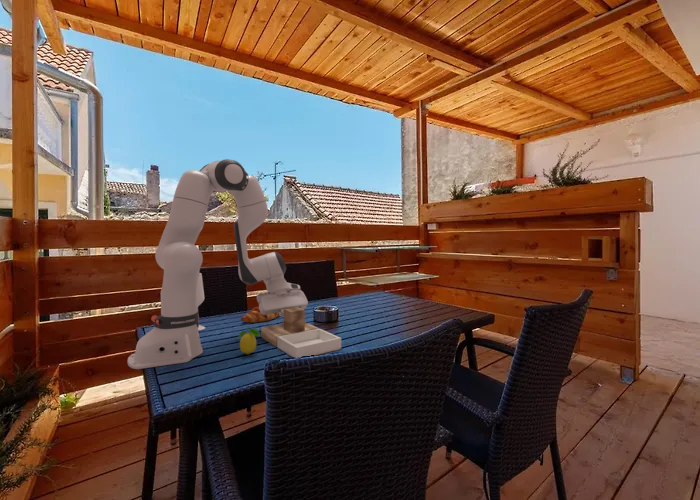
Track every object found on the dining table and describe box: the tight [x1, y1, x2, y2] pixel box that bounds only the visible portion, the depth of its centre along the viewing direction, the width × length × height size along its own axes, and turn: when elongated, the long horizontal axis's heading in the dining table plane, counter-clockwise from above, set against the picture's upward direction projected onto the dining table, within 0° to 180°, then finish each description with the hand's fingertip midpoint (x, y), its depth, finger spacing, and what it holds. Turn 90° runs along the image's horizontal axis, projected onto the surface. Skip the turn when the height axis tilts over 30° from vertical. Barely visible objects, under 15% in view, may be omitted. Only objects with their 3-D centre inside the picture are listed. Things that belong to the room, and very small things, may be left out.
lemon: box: [237, 325, 261, 356], centre depth 120 cm, size 7×6×10 cm
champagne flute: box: [197, 272, 206, 331], centre depth 151 cm, size 7×7×24 cm
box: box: [277, 328, 342, 358], centre depth 127 cm, size 18×15×4 cm
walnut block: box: [283, 307, 306, 333], centre depth 136 cm, size 6×6×8 cm
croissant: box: [240, 306, 281, 324], centre depth 167 cm, size 21×10×8 cm, turn 135°
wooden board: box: [260, 321, 319, 347], centre depth 139 cm, size 18×14×4 cm
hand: (289, 319), depth 139 cm, fingers closed, pressing on walnut block
